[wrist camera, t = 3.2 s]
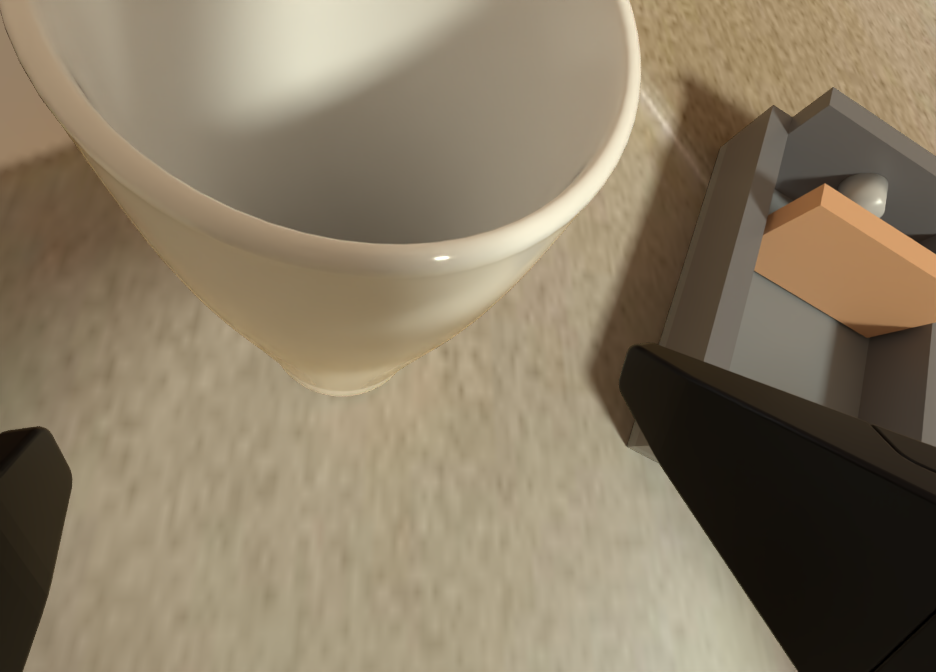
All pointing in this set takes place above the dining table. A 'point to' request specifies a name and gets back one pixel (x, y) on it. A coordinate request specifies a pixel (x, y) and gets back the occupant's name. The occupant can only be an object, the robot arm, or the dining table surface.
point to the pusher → (849, 264)
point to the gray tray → (779, 311)
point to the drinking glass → (341, 153)
